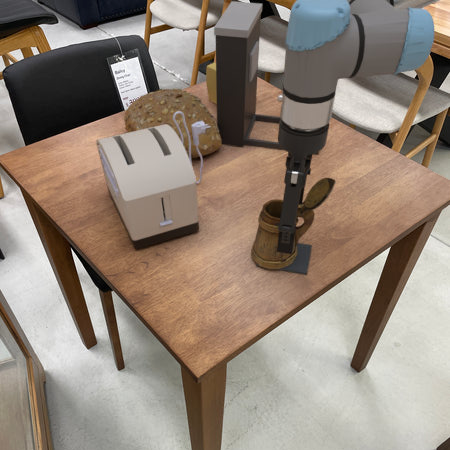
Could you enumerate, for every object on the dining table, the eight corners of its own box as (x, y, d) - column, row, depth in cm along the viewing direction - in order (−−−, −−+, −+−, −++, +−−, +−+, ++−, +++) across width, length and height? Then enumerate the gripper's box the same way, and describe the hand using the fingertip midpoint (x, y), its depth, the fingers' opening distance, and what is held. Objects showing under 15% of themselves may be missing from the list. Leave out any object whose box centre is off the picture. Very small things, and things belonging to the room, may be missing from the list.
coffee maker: (324, 124, 121) (345, 10, 99) (317, 157, 110) (339, 38, 89) (230, 113, 125) (231, 1, 103) (216, 144, 114) (214, 27, 93)
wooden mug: (319, 272, 85) (338, 196, 71) (250, 268, 85) (255, 192, 71) (317, 240, 90) (334, 164, 76) (251, 237, 91) (256, 161, 77)
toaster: (105, 190, 102) (86, 120, 88) (204, 165, 108) (200, 95, 95) (134, 255, 89) (117, 183, 75) (244, 221, 95) (248, 150, 82)
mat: (311, 247, 90) (311, 245, 90) (306, 275, 85) (307, 272, 85) (263, 239, 91) (263, 237, 91) (256, 266, 87) (256, 264, 86)
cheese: (232, 89, 134) (232, 54, 126) (257, 102, 128) (258, 66, 121) (206, 100, 129) (205, 65, 121) (231, 114, 124) (231, 78, 116)
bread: (119, 130, 119) (110, 85, 109) (191, 112, 125) (188, 68, 116) (151, 177, 105) (144, 131, 96) (230, 154, 111) (230, 109, 102)
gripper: (291, 80, 74) (280, 184, 90) (265, 163, 59) (257, 270, 75) (336, 84, 73) (317, 189, 89) (321, 170, 58) (301, 278, 74)
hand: (290, 226), depth 82 cm, fingers open, 13 cm apart
